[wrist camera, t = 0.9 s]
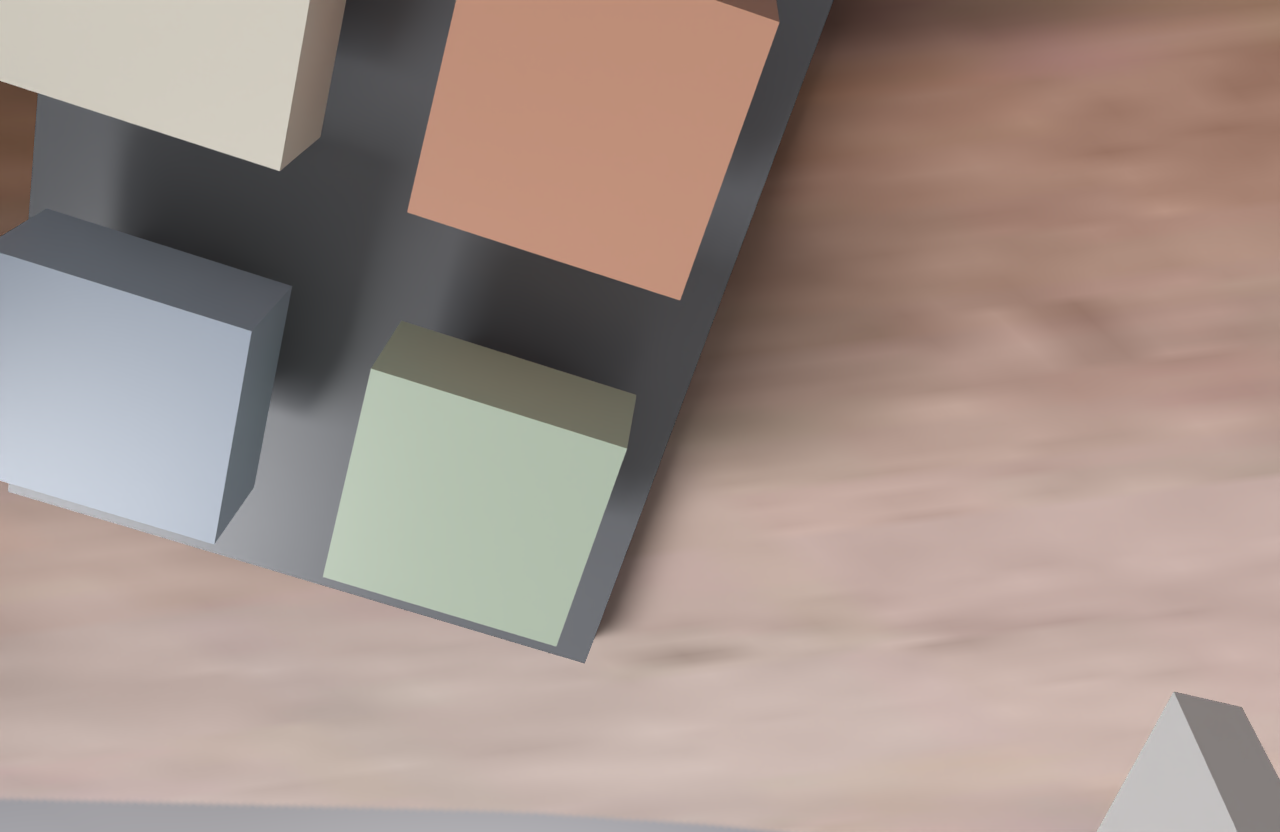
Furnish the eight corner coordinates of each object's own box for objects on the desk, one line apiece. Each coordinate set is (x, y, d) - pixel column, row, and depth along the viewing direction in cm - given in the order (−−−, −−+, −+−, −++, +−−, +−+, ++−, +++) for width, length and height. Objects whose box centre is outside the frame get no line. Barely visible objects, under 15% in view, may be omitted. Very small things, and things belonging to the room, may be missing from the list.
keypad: (27, 472, 33) (-34, 532, 31) (106, -475, 23) (23, -509, 20) (588, 640, 34) (575, 712, 32) (898, -191, 24) (917, -187, 22)
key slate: (29, 419, 29) (-30, 471, 27) (46, 208, 27) (-18, 247, 24) (254, 487, 29) (214, 544, 27) (292, 286, 27) (252, 331, 25)
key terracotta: (436, 175, 26) (407, 212, 23) (501, -96, 23) (475, -83, 21) (685, 256, 26) (680, 300, 24) (776, -1, 23) (779, 22, 21)
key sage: (353, 517, 30) (322, 577, 27) (401, 320, 27) (370, 368, 25) (570, 582, 30) (556, 646, 28) (636, 395, 28) (627, 448, 25)
